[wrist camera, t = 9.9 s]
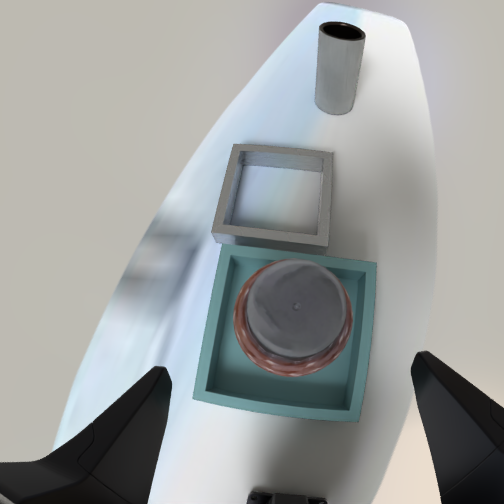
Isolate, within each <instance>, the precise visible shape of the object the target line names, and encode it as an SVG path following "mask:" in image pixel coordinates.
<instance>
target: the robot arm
mask: <svg viewBox="0 0 504 504" xmlns="http://www.w3.org/2000/svg"><path fill="white" fill-rule="evenodd" d="M411 376H412V381H413V385H414V390H415V395H416V401H417V405H418V409H419V413H420V416H421V419H422V423H423V426H424V430H425V433H426V437H427V441H428V444H429V448H430V452H431V456H432V460H433V464H434V469H435V473H436V478H437V482H438V487H439V492H440V496H441V497H440V498H441V503H442V504H504V408H503V407H502V406H500V405H499V404H498V403H496V402H495V401H494V400H492V399H490V397H488V396H487V395H486V394H485V393H483V392H482V391H480V390H479V389H478V388H477V387H475V386H474V385H473V384H471V383H470V382H469V381H467V380H466V379H465V378H463V377H462V376H461V375H459V374H458V373H457V372H455V371H454V370H453V369H451V368H450V367H449V366H447V365H446V364H445V363H443V362H442V361H441V360H439V359H438V358H437V357H435V356H434V355H432V354H431V353H430V352H428V351H421V352H418V353H417V354H416V355H415V358H414V361H413V364H412V366H411ZM171 391H172V381H171V378H170V376H169V373H168V371H167V369H166V368H165V367H163V366H154V367H153V368H152V369H151V370H150V371H148V372H147V373H146V374H145V375H144V376H143V377H142V378H141V379H140V380H138V381H137V382H136V383H135V384H134V385H133V386H132V387H131V388H130V389H129V390H127V391H126V392H125V393H124V394H123V395H122V396H121V397H120V398H118V399H117V400H116V401H115V402H114V403H113V404H112V405H111V406H110V407H108V408H107V409H106V410H105V411H104V412H103V413H102V414H101V415H99V416H98V417H97V418H96V419H95V420H94V421H93V423H90V424H89V425H88V426H87V427H86V428H85V429H83V430H82V431H81V432H80V433H78V434H77V435H76V436H75V437H73V438H72V439H71V440H69V441H68V442H66V443H65V444H64V445H62V446H61V447H59V448H58V449H56V450H55V451H53V452H52V453H50V454H49V455H47V456H46V457H44V458H42V459H40V460H37V461H32V462H5V463H4V462H2V463H1V462H0V504H147V503H148V499H149V494H150V490H151V486H152V481H153V477H154V473H155V469H156V465H157V461H158V456H159V452H160V448H161V444H162V440H163V437H164V433H165V429H166V425H167V420H168V413H169V405H170V398H171ZM252 496H256V497H257V498H255V499H254V498H252ZM320 502H324V503H323V504H328V503H327V500H326V499H325V498H312V497H306V496H302V495H290V494H280V493H275V494H268V493H261V492H251V493H250V494H249V495H248V499H247V504H319V503H320Z"/></svg>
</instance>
